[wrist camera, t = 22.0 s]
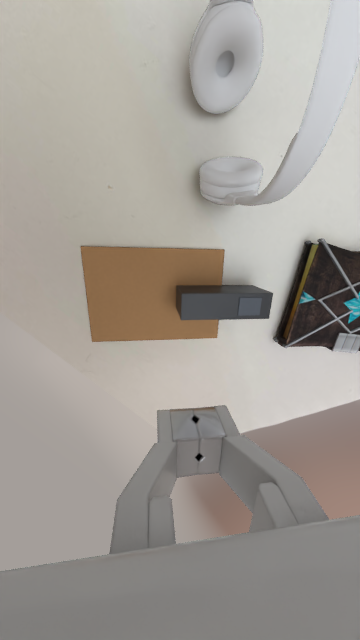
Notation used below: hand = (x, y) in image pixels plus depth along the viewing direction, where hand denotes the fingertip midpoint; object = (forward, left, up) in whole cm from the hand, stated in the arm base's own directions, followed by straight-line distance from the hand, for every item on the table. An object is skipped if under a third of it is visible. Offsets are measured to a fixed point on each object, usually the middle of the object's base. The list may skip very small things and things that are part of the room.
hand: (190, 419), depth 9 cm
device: (+2, 0, -21) cm, 21 cm away
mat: (-1, 0, -25) cm, 25 cm away
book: (+31, -1, -25) cm, 40 cm away
